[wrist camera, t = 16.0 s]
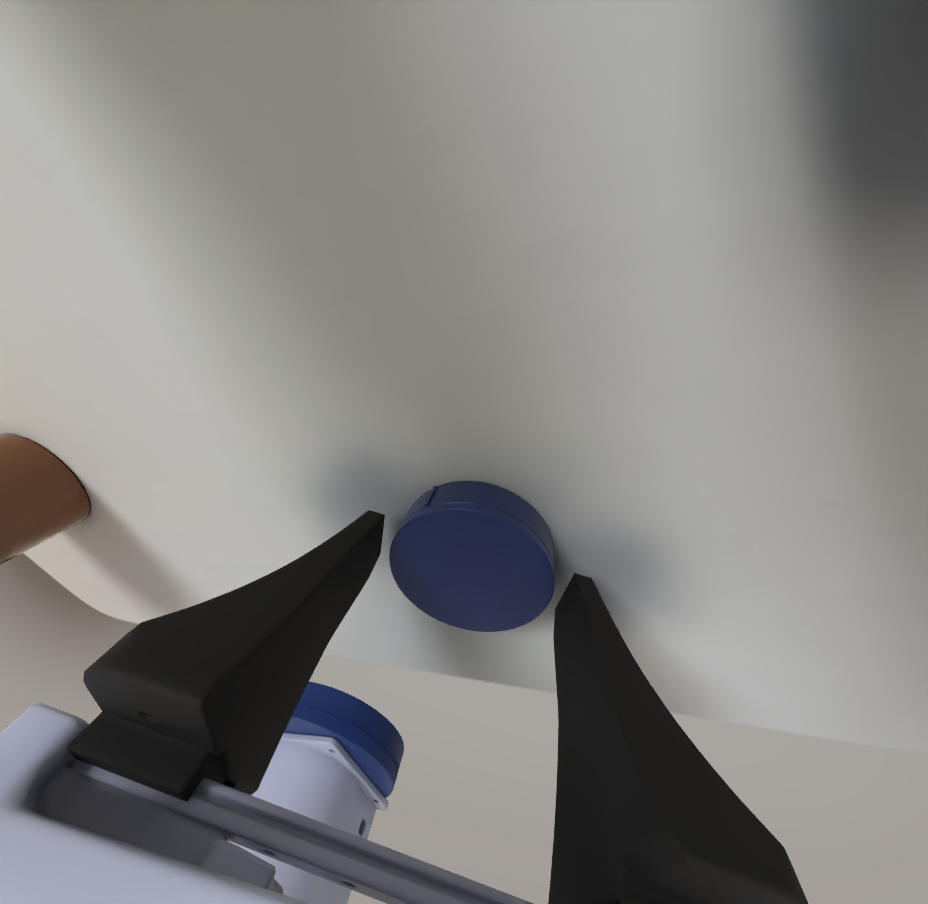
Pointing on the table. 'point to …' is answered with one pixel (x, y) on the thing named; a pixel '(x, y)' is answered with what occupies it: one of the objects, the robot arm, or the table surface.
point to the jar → (35, 496)
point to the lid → (474, 557)
